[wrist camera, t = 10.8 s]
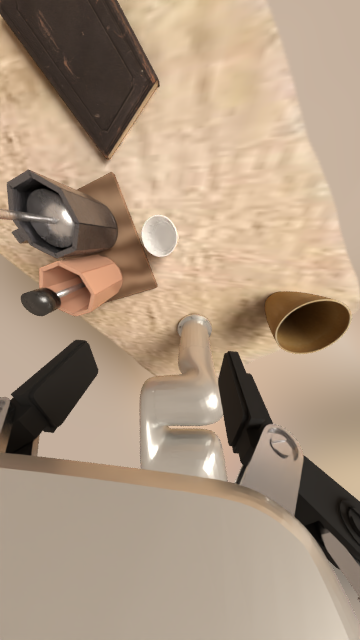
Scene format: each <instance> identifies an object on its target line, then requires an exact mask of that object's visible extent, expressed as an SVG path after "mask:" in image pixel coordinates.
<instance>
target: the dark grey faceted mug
mask: <svg viewBox="0 0 360 640" xmlns="http://www.w3.org/2000/svg"><path fill="white" fill-rule="evenodd" d="M7 183H8V184H7V192H8V204H9V210H13V211H19V212H26V213H28V212H27V200H28V197H29V195H30V194H31V193H32V192H33V191H35V190H37V189H46V190H49V191H52V192H55V193H57V194H58V195H60V197H61V198H62V200H63V202H64V204H65V206H66V208H67V209H68V211H69V213H70V215H71V217H72V218H73V220H74V222H75V226H74V235H73V244H72V246H70V247H56V246H53V245H51V244H49V243H48V242H46V241H45V240H44V239H43V238H42V237H41V236H40V235H39V234H38V233H37V232H36V230H35V229H34V227H33V226H32V224H31V222H25V221H16V220H13V221H14V223H15V224H16V226H17V227H18V228H19V229H17V230H15V231H13V232H12V234H13V235H14V236H15V238H16V239H17V240H18V242H19V243H29V244H30V245H31V246H33V247H35V248H37V249H39V250H41V251H43V252H45V253H47V254H49V255H51V256H53V257H55V258H63V257H70V256H77V255H85V254H92V253H99V252H101V251H104V250H108V249H110V248H112V247H113V246H114V244H115V243H116V241H117V237H118V227H117V222H116V220H115V217H114V215H113V214H112V212H111V211H110V209H109V208H108V207H107V206H106V205H105V204H103V203H102V202H100V201H98V200H96V199H94V198H92V197H91V196H89V195H87V194H85V193H82V192H80V191H78V190H75V189H73V188H71V187H68V186H66V185H64V184H61V183H59V182H57V181H54V180H52V179H50V178H47V177H45V176H43V175H40V174H38V173H35V172H33V171H31V170H27V171H25V172H24V173H22V174H20V175H19V176H17V177H15V178H14V179H12V180H11V181H9V182H7Z"/></svg>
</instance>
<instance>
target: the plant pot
mask: <svg viewBox="0 0 360 640" xmlns="http://www.w3.org/2000/svg"><path fill="white" fill-rule="evenodd" d="M265 313H266V318H267V322H268V325H269V328H270V330H271V332H272V334H273V336H274V338H275V340H276V342H277V344H278V346H279V347H280V348H281V349H283V350H285V351H287V352H290V353H295V354H307V353H313V352H316V351H319V350H322V349H324V348H326V347H328V346H330V345H332V344H333V343H335V342H336V341H337V340H339V339H340V338H341V337H342V336H343V335H344V334H345V332H346V331H347V330H348V328H349V326H350V324H351V320H352V315H351V311H350V309H349V308H348V307H347V306H346V305H345V304H344V303H342V302H340V301H337V300H333V299H330V298H326V297H322V296H318V295H313V294H308V293H301V292H276V293H274V294H272V295H270V296H269V297H268V298H267V300H266V302H265Z"/></svg>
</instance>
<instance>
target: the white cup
mask: <svg viewBox="0 0 360 640" xmlns="http://www.w3.org/2000/svg"><path fill="white" fill-rule="evenodd" d="M141 236H142V242H143V244H144V246H145V248H146V249H147V251H148V252H149V253H151V254H152V255H154V256H157V257H164V256H167V255H169V254H170V253H171V252H172V251H173V250H174V249H175V248H176V246H177V244H178V240H179V236H178V231H177V229H176V227H175V226H174V224H173V223H172V221H171V220H170V219H168V218H167V217H165V216H162V215H154V216H151V217H150V218H148V219H147V220H146V222H145V223H144V225H143V227H142V233H141Z"/></svg>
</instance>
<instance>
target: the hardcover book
mask: <svg viewBox="0 0 360 640" xmlns="http://www.w3.org/2000/svg"><path fill="white" fill-rule="evenodd" d="M0 14H1V16H2V17H3V18H4V20H5V21H6V22H7V24H8V25H9V27H10V28H11V29H12V31H13V32H14V33H15V35H16V36H17V37H18V39H19V40H20V42H21V43H22V44H23V46H24V47H25V48H26V50H27V51H28V53H29V54H30V55H31V57H32V58H33V59H34V61H35V62H36V63H37V65H38V66H39V68H40V69H41V70H42V72H43V73H44V74H45V76H46V77H47V79H48V80H49V81H50V83H51V84H52V85H53V87H54V88H55V89H56V91H57V92H58V94H59V95H60V96H61V98H62V99H63V100H64V102H65V103H66V105H67V106H68V107H69V109H70V110H71V111H72V113H73V114H74V115H75V117H76V118H77V120H78V121H79V122H80V124H81V125H82V126H83V128H84V129H85V131H86V132H87V133H88V135H89V136H90V137H91V139H92V140H93V141H94V143H95V144H96V146H97V147H98V148H99V150H100V151H101V152H102V154H103V155H104V157H105V158H106V159H107V157H108V158H109V159H110V158H111V157H112V155H113V154H114V152H115V151H116V149H117V148H118V146H119V145H120V143H121V142H122V140H123V138H124V137H125V135H126V134H127V132H128V131H129V129H130V128H131V126H132V125H133V123H134V122H135V120H136V119H137V117H138V116H139V114H140V113H141V111H142V110H143V108H144V106H145V105H146V103H147V102H148V100H149V99H150V97H151V96H152V94H153V93H154V91H155V90H156V88H157V87H158V86H159V80H158V78H157V76H156V74H155V72H154V70H153V68H152V66H151V64H150V62H149V60H148V58H147V57H146V55H145V53H144V51H143V49H142V47H141V45H140V43H139V41H138V39H137V37H136V36H135V34H134V32H133V30H132V28H131V26H130V24H129V22H128V20H127V18H126V17H125V15H124V13H123V11H122V9H121V7H120V5H119V3H118V1H117V0H0Z"/></svg>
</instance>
